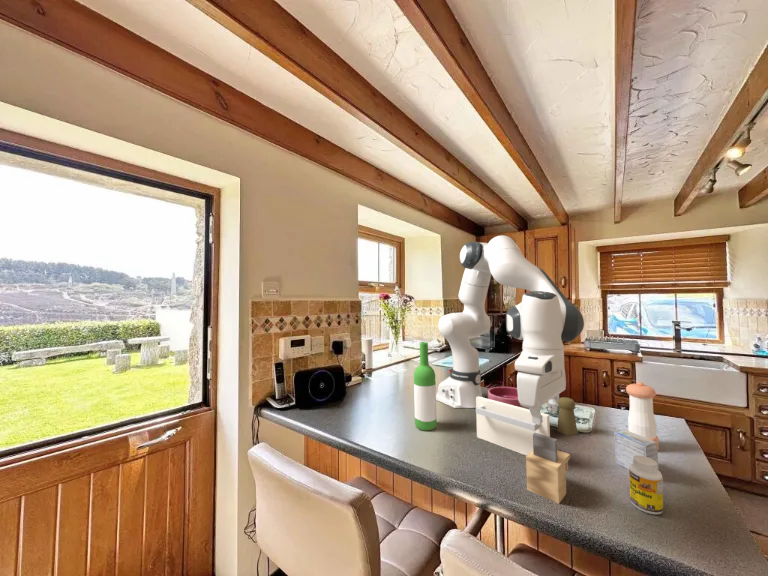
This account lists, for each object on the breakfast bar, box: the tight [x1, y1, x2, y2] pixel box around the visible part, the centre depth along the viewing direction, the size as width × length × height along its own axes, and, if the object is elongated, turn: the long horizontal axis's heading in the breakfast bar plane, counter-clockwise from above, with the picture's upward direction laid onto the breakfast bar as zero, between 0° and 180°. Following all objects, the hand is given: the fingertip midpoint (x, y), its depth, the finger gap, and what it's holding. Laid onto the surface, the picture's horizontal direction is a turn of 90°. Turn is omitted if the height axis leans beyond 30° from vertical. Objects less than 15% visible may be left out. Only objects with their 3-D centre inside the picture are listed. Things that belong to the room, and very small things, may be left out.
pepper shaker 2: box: [625, 381, 660, 451], centre depth 93 cm, size 7×7×19 cm
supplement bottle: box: [628, 456, 664, 515], centre depth 67 cm, size 6×6×10 cm
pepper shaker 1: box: [556, 396, 579, 436], centre depth 104 cm, size 6×6×11 cm
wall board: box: [475, 396, 551, 457], centre depth 92 cm, size 22×7×13 cm, turn 42°
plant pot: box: [487, 386, 529, 409], centre depth 106 cm, size 14×14×13 cm
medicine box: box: [614, 429, 660, 471], centre depth 81 cm, size 8×4×9 cm, turn 17°
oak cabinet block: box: [525, 433, 571, 505], centre depth 74 cm, size 7×8×13 cm
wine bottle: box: [413, 341, 438, 431], centre depth 110 cm, size 8×8×30 cm
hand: (545, 417), depth 73 cm, fingers open, 8 cm apart
